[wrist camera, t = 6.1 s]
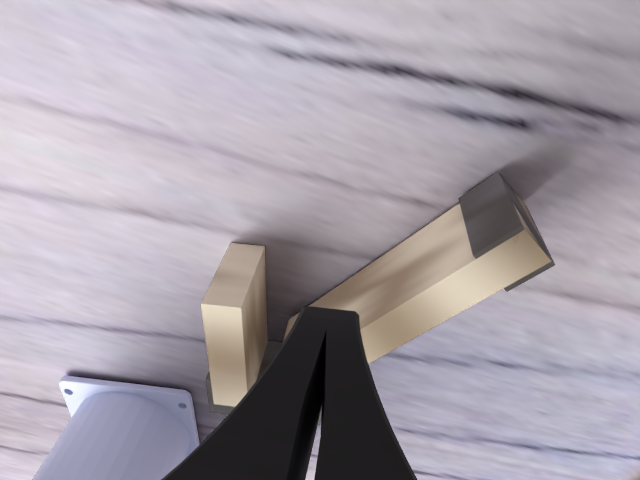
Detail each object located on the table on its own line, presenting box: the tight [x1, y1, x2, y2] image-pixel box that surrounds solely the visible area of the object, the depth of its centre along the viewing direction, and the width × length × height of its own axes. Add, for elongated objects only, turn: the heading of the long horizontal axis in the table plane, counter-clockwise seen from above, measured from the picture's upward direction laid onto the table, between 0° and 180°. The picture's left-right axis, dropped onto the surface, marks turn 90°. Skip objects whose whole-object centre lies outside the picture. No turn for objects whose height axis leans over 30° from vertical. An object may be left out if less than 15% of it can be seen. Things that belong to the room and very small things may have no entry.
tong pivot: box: [201, 243, 322, 425], centre depth 23 cm, size 8×6×4 cm, turn 178°
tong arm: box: [283, 172, 555, 364], centre depth 20 cm, size 12×2×4 cm, turn 134°
